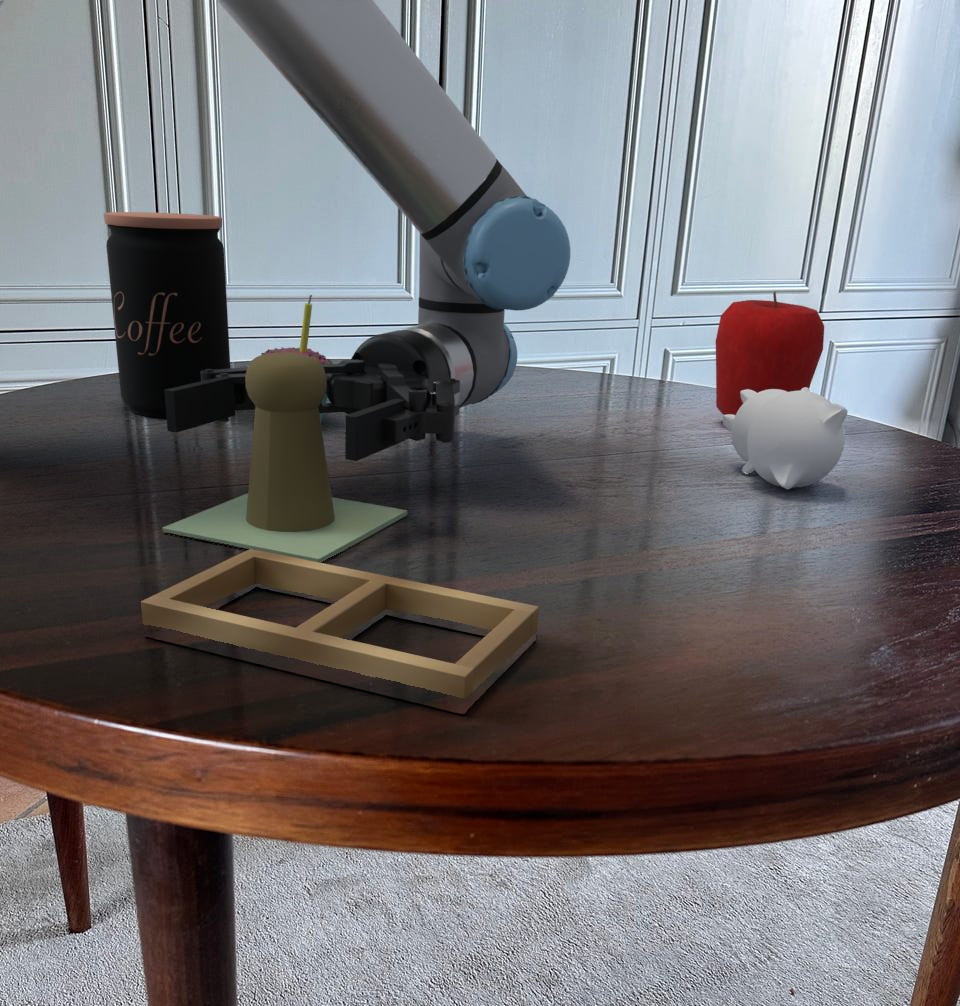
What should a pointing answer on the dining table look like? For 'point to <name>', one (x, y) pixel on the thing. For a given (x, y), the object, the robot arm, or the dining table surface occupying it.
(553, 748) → the dining table surface
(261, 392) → the cork
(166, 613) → the stand
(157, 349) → the coffee jar
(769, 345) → the apple
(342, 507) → the mat
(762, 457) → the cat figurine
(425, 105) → the robot arm
